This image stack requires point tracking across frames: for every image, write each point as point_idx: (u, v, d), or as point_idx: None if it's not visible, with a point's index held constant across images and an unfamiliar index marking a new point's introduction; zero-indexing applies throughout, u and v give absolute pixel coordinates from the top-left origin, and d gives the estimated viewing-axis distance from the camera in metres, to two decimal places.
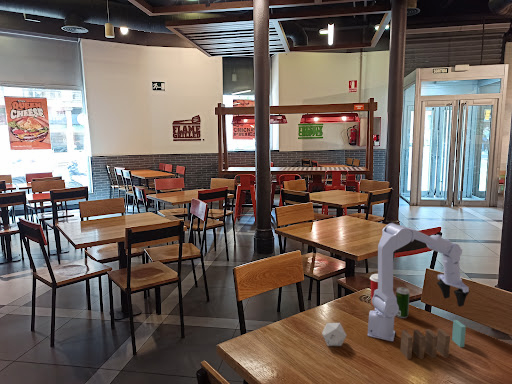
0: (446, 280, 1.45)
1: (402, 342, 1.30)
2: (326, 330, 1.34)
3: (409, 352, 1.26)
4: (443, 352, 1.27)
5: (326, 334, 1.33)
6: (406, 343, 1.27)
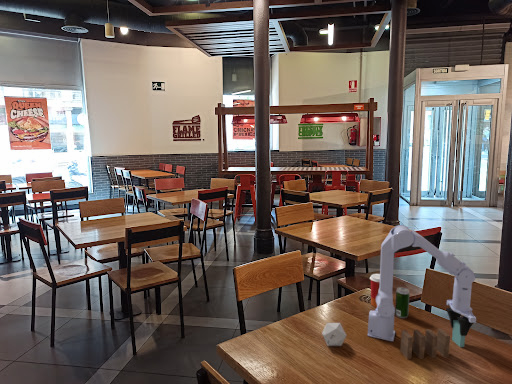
0: (453, 306, 1.34)
1: (402, 342, 1.30)
2: (326, 330, 1.34)
3: (409, 352, 1.26)
4: (443, 352, 1.27)
5: (326, 334, 1.33)
6: (406, 343, 1.27)
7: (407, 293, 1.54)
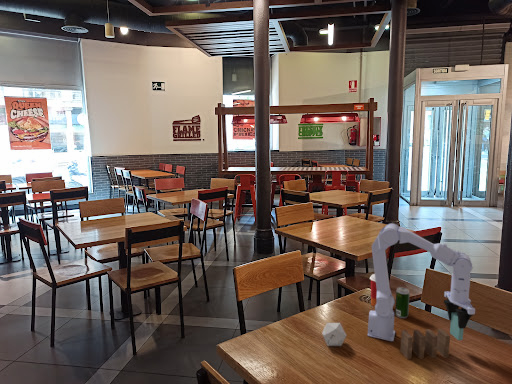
0: (451, 297, 1.28)
1: (402, 342, 1.30)
2: (326, 330, 1.34)
3: (409, 352, 1.26)
4: (443, 352, 1.27)
5: (326, 334, 1.33)
6: (406, 343, 1.27)
7: (407, 293, 1.54)
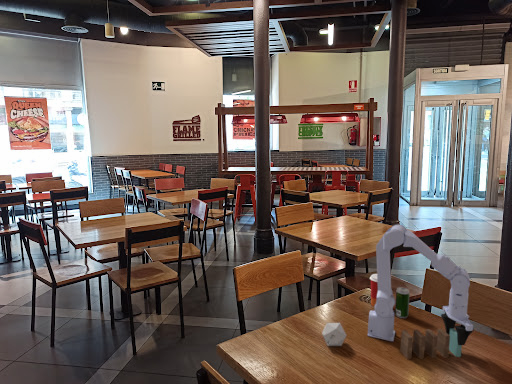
0: (450, 313, 1.28)
1: (402, 342, 1.30)
2: (326, 330, 1.34)
3: (409, 352, 1.26)
4: (443, 352, 1.27)
5: (326, 334, 1.33)
6: (406, 343, 1.27)
7: (407, 293, 1.54)
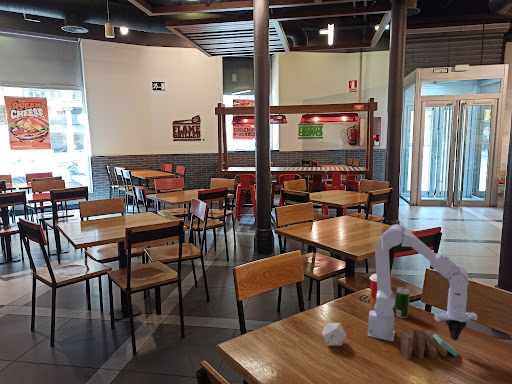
0: None
1: (402, 342, 1.30)
2: (326, 330, 1.34)
3: (409, 352, 1.26)
4: (440, 353, 1.27)
5: (326, 334, 1.33)
6: (406, 343, 1.27)
7: (407, 293, 1.54)
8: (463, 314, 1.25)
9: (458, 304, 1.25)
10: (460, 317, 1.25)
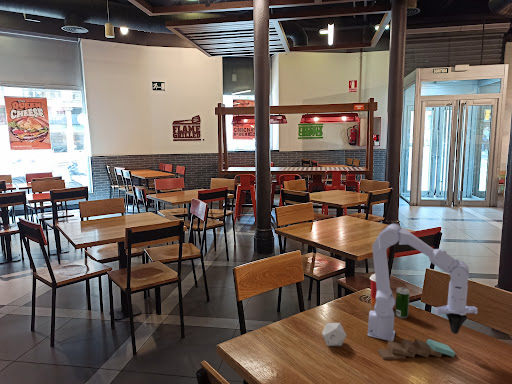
0: None
1: None
2: (326, 330, 1.34)
3: (398, 358, 1.27)
4: None
5: (326, 334, 1.33)
6: None
7: (407, 293, 1.54)
8: (463, 307, 1.25)
9: (459, 297, 1.24)
10: (460, 310, 1.25)
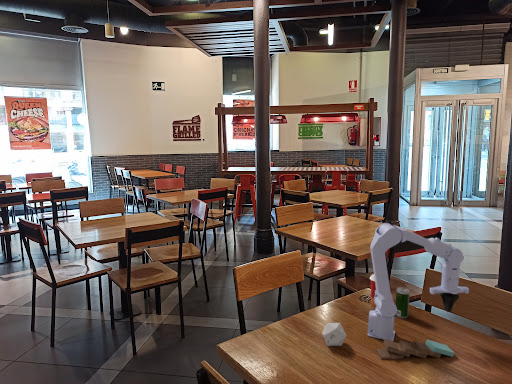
0: None
1: None
2: (326, 330, 1.34)
3: (396, 358, 1.27)
4: None
5: (326, 334, 1.33)
6: None
7: (407, 293, 1.54)
8: (456, 287, 1.36)
9: (455, 278, 1.35)
10: (453, 290, 1.36)
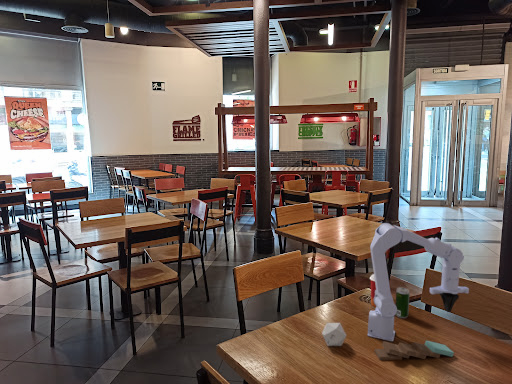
0: None
1: None
2: (326, 330, 1.34)
3: (395, 358, 1.26)
4: None
5: (326, 334, 1.33)
6: None
7: (407, 293, 1.54)
8: (456, 287, 1.36)
9: (455, 278, 1.35)
10: (453, 290, 1.36)
